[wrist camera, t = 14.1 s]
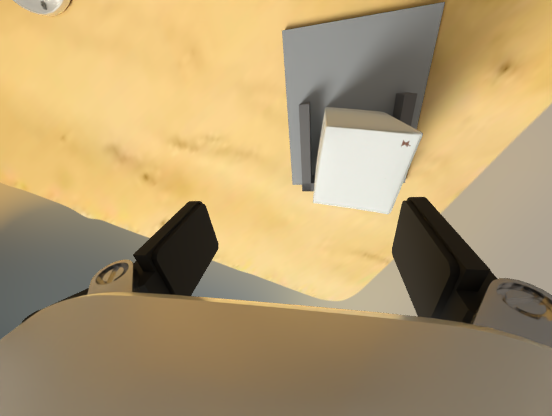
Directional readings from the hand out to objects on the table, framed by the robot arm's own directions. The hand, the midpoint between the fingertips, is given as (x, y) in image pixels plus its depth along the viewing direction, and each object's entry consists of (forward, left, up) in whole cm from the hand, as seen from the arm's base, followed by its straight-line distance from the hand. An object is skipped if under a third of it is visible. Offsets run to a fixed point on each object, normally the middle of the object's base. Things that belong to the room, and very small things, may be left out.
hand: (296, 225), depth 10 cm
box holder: (-2, +5, -23) cm, 23 cm away
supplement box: (+1, +4, -22) cm, 23 cm away
